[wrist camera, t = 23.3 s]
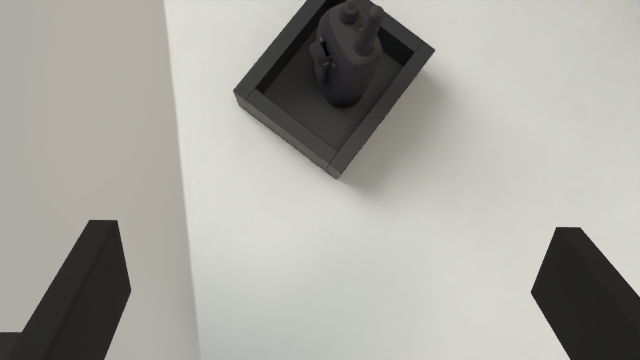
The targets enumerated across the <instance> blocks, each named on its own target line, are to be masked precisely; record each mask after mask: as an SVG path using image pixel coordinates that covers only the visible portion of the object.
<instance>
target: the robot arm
mask: <svg viewBox="0 0 640 360" xmlns="http://www.w3.org/2000/svg"><path fill="white" fill-rule="evenodd" d="M130 293H131V287H130V282H129V277H128V272H127V267H126V262H125V257H124V252H123V247H122V242H121V237H120V232H119V227H118V222H117V220H89V222H88V224H87V225H86V227H85V228H84V230H83V232H82V234H81V235H80V237H79V238H78V240H77V242H76V243H75V245H74V247H73V248H72V250H71V252H70V254H69V255H68V257H67V258H66V260H65V262H64V263H63V265H62V267H61V268H60V270H59V272H58V273H57V275H56V276H55V278H54V280H53V281H52V283H51V285H50V286H49V288H48V290H47V291H46V293H45V295H44V296H43V298H42V300H41V301H40V303H39V305H38V306H37V308H36V310H35V311H34V313H33V315H32V316H31V318H30V320H29V321H28V323H27V324H26V326H25V328H24V329H23V331H22V332H20V333H19V332H18V333H17V332H2V333H1V332H0V360H104V359H105V356H106V354H107V351H108V349H109V346H110V344H111V341H112V338H113V336H114V333H115V331H116V328H117V326H118V323H119V321H120V318H121V316H122V313H123V311H124V308H125V306H126V303H127V301H128V298H129V295H130ZM531 294H532V296H533V297H534V299H535V301H536V303H537V304H538V306H539V308H540V309H541V311H542V313H543V314H544V316H545V318H546V319H547V321H548V323H549V324H550V326H551V328H552V329H553V331H554V333H555V334H556V336H557V338H558V340H559V341H560V343H561V345H562V346H563V348H564V350H565V351H566V353H567V355H568V356H569V358H570V360H640V297H639V296H638V295H637V293H636V292H635V291H634V290H633V289H632V288H631V286H630V285H629V284H628V283H627V282H626V281H625V279H624V278H623V277H622V276H621V275H620V273H619V272H618V271H617V270H616V269H615V268H614V266H613V265H612V264H611V263H610V262H609V261H608V259H607V258H606V257H605V256H604V255H603V254H602V252H601V251H600V250H599V249H598V248H597V247H596V245H595V244H594V243H593V242H592V241H591V240H590V238H589V237H588V236H587V235H586V234H585V233H584V231H583V230H582V229H581V228H579V227H556V230H555V232H554V235H553V237H552V240H551V242H550V245H549V247H548V250H547V252H546V255H545V257H544V260H543V262H542V265H541V267H540V270H539V273H538V275H537V278H536V280H535V283H534V285H533V288H532V290H531Z"/></svg>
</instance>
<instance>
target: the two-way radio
mask: <svg viewBox="0 0 640 360" xmlns="http://www.w3.org/2000/svg"><path fill="white" fill-rule="evenodd" d="M383 15H384V10H383V9H382V7H380V6H374V7H372V8H371V10H370V12H369V14H368V16H367V14H366V13H365V11H364V9H363V8H362V6H361V5H360V4H358V3H357V2H356V1H354V0H348V1H346V2H344V3H341V4H338V5H336V6H334V7H332V8H330V9H329V10H328V11H327V12H326V13H325V14H324V15H323V16H322V17H321V19H320V21H319V25H318V30H317V38H316V42H315V43H313V44H311V45H310V47H309V50H310V52H311V55H312V57H313V59H314V60H315V65H314V72H315V77H316V79H317V82H318V84H319V86H320V89H321V91H322V92H323V94H324V96H325V98H326V99H327V100H328V102H329V103H330V104H332V105H333V106H335V107H343V108H347V107H350V106H353V105H354V104H355V103H357V102H358V101H359V100H360V98H361V97H362V95H363V94H364V92H365V91H366V89H367V87H368V85H369V83H370V82H371V80H372V78H373V77H374V75H375V73H376V71H377V69H378V67H379V65H380V63H381V60H382V58H383V49H382V45H381V43H380V40H379V38H378V36H377V33H378V30H379V27H380V24H381V21H382V18H383Z"/></svg>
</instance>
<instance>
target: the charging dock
mask: <svg viewBox="0 0 640 360" xmlns="http://www.w3.org/2000/svg"><path fill="white" fill-rule="evenodd" d="M346 1H348V0H307V1H306V2H305V3H304V4H303V6H302V7H301V8H300V9H299V11H298V12H297V13H296V14H295V15H294V17H293V18H292V19H291V20H290V22H289V23H288V24H287V25H286V26H285V28H284V29H283V30H282V31H281V33H280V34H279V35H278V36H277V37H276V39H275V40H274V41H273V42H272V44H271V45H270V46H269V47H268V48H267V50H266V51H265V52H264V53H263V55H262V56H261V57H260V58H259V59H258V61H257V62H256V63H255V64H254V66H253V67H252V68H251V69H250V70H249V72H248V73H247V74H246V75H245V77H244V78H243V79H242V80H241V81H240V83H239V84H238V85H237V86H236V88H235V89H234V90H233V92H234V94H235V97H236V99H237V101H238V104H239V106H240V107H242V108H243V109H244V110H246V111H247V112H248V113H250V114H251V115H252V116H253V117H255V118H256V119H257V120H259V121H260V122H261V123H263V124H264V125H265V126H267V127H268V128H269V129H271V130H272V131H273V132H274V133H276V134H277V135H278V136H280V137H281V138H282V139H284V140H285V141H286V142H288V143H289V144H290V145H292V146H293V147H294V148H295V149H297V150H298V151H299V152H301V153H302V154H303V155H305V156H306V157H307V158H309V159H310V160H311V161H313V162H314V163H315V164H316V165H318V166H319V167H320V168H322V169H323V170H324V171H326V172H327V173H328V174H330V175H331V176H332V177H334V178H335V179H337V178H338V177H339V176H340V175H341V174H342V173H343V171H344V170H345V169H346V167H347V166H348V165H349V163H350V162H351V161H352V159H353V158H354V157H355V156H356V154H357V153H358V152H359V150H360V149H361V148H362V146H363V145H364V144H365V142H366V141H367V140H368V138H369V137H370V136H371V134H372V133H373V132H374V131H375V129H376V128H377V127H378V125H379V124H380V123H381V121H382V120H383V119H384V117H385V116H386V115H387V113H388V112H389V111H390V109H391V108H392V107H393V105H394V104H395V103H396V102H397V100H398V99H399V98H400V96H401V95H402V94H403V92H404V91H405V90H406V88H407V87H408V86H409V84H410V83H411V82H412V80H413V79H414V78H415V77H416V75H417V74H418V73H419V71H420V70H421V69H422V67H423V66H424V65H425V63H426V62H427V61H428V59H429V58H430V57H431V55H432V54H433V53H434V52H435V49H434V48H432V47H431V46H430V45H428V44H427V43H426V42H424V41H423V40H422V39H420V38H419V37H418V36H416V35H415V34H414V33H412V32H411V31H410V30H408V29H407V28H406V27H404V26H403V25H402V24H400V23H399V22H398V21H396V20H395V19H394V18H392V17H391V16H390V15H388V14H387V13H386V12H384V15H383V18H382V21H381V24H380V27H379V30H378V33H377V36H378V38H379V40H380V43H381V45H382V49H383V58H382V60H381V63H380V65H379V67H378V69H377V71H376V73H375V75H374V77H373V78H372V80H371V82H370V83H369V85H368V87H367V89H366V91H365V92H364V94H363V95H362V97H361V98H360V100H359V101H358V102H357V103H355V104H354V105H353V106H350V107H347V108H343V107H335V106H333V105H332V104H330V103H329V102H328V100H327V99H326V98H325V96H324V94H323V92H322V91H321V89H320V86H319V84H318V82H317V79H316V77H315V72H314V65H315V60H314V59H313V57H312V55H311V52H310V50H309V47H310V45H311V44H313V43H315V42H316V38H317V30H318V25H319V21H320V19H321V17H322V16H323V15H324V14H325V13H326V12H327V11H328V10H329V9H330V8H332V7H334V6H336V5H338V4H341V3H344V2H346ZM354 1H356V2H357V3H358V4H360V5H361V6H362V8H363V9H364V11H365V13H366V14H367V16H368V14H369V12H370V10H371V8H372V7H374V6H377V5H375V4H374V3H373V2H371V1H370V0H354Z"/></svg>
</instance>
